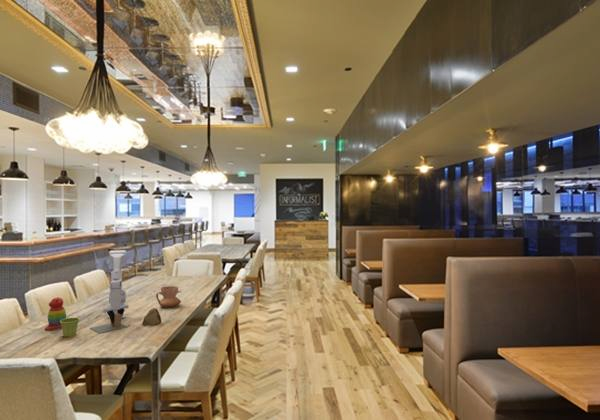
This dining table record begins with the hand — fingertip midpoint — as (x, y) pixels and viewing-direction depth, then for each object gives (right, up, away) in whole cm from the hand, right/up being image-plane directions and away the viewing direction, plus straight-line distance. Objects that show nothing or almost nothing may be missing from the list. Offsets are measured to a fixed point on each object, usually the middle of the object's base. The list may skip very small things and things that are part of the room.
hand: (115, 322), depth 225 cm
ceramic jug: (+16, -3, +47) cm, 49 cm away
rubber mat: (-3, -2, -3) cm, 5 cm away
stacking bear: (-35, -3, -2) cm, 35 cm away
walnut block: (0, -2, 0) cm, 2 cm away
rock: (+19, -3, +6) cm, 20 cm away
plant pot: (-18, -3, -16) cm, 24 cm away
